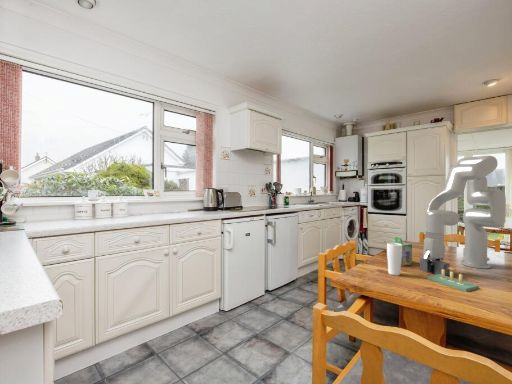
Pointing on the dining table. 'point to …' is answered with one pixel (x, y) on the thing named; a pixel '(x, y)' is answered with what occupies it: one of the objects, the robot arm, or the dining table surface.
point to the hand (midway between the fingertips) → (434, 271)
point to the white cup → (394, 258)
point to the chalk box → (405, 252)
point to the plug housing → (436, 267)
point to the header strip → (453, 281)
